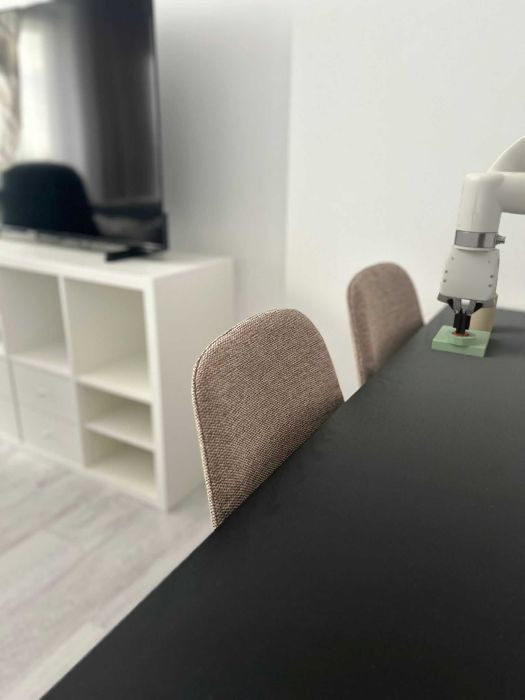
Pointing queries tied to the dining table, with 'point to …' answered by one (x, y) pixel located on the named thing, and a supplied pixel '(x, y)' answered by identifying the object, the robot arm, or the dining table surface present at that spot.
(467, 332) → the power button
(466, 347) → the green stand
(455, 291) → the robot arm
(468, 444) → the dining table surface
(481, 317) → the candle
